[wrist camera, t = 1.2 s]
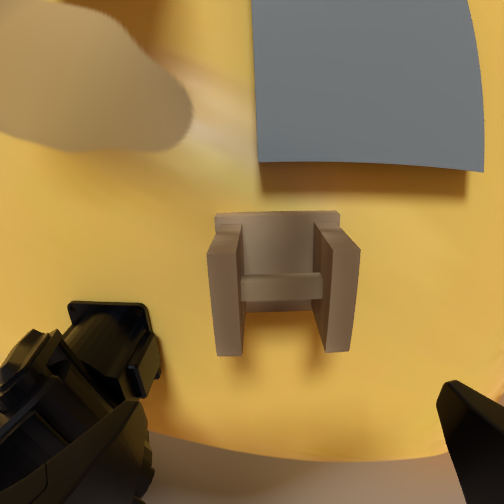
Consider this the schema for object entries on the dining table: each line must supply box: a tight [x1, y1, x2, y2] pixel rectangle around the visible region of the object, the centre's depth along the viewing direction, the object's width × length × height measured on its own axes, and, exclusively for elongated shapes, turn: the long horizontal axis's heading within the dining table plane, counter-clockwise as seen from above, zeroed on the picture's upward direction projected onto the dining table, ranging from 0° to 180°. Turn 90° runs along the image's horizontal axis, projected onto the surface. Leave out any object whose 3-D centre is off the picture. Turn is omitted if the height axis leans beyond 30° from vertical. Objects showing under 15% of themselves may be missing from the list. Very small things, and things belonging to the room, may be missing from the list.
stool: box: [207, 211, 361, 356], centre depth 17 cm, size 7×6×6 cm
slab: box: [251, 0, 484, 173], centre depth 14 cm, size 14×14×2 cm
